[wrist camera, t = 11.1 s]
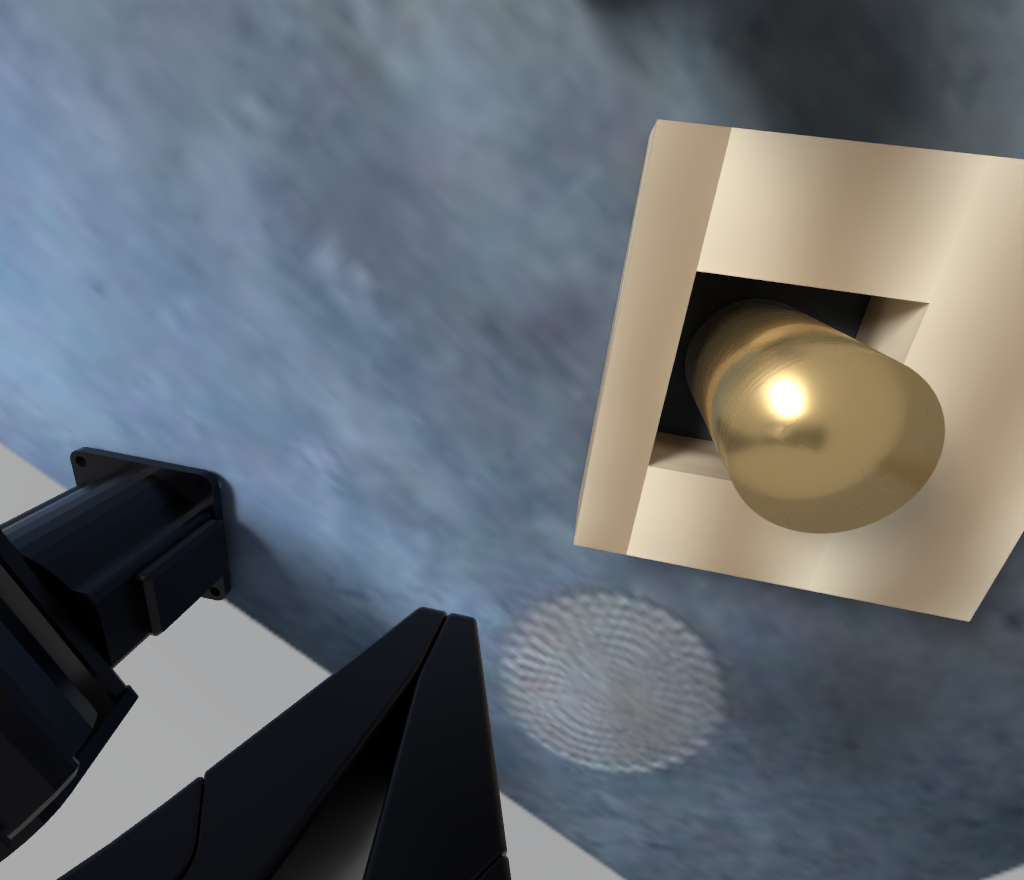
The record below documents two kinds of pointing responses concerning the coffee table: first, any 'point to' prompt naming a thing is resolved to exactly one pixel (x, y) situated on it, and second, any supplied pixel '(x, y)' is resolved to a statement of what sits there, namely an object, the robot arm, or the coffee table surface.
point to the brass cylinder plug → (811, 417)
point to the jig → (885, 327)
